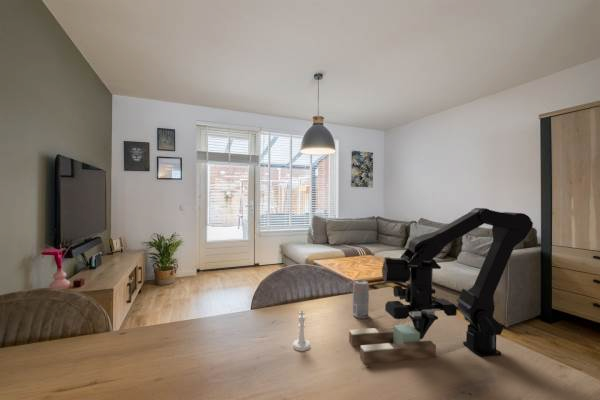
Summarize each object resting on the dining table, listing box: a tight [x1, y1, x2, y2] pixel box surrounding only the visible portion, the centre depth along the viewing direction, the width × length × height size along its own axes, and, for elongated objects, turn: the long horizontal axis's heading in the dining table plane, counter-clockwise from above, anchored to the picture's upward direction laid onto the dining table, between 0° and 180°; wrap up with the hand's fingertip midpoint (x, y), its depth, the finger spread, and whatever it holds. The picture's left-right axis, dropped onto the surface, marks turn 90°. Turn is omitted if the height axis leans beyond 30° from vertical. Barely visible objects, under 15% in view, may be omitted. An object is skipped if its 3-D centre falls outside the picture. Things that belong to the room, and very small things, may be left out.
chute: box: [348, 325, 437, 365], centre depth 73 cm, size 20×11×3 cm, turn 100°
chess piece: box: [292, 309, 311, 352], centre depth 74 cm, size 5×5×10 cm
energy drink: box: [352, 279, 370, 320], centre depth 94 cm, size 5×5×12 cm
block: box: [392, 323, 421, 344], centre depth 74 cm, size 5×5×5 cm
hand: (419, 338), depth 75 cm, fingers closed
